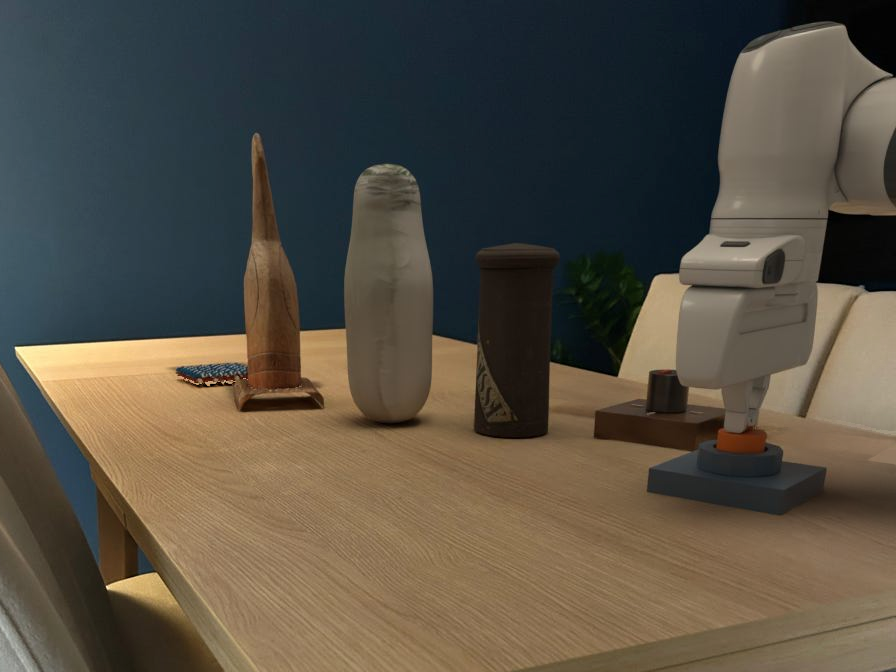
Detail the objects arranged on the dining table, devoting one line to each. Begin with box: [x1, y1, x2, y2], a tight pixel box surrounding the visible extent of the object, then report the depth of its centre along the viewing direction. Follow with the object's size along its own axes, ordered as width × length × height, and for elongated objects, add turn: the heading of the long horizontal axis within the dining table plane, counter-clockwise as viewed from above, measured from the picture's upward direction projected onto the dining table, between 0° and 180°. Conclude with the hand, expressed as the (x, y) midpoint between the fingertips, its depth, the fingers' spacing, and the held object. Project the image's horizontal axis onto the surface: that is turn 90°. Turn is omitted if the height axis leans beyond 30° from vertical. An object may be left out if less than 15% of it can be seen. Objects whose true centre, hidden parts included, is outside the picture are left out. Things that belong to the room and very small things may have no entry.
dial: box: [646, 368, 690, 413], centre depth 106 cm, size 4×4×4 cm
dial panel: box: [593, 398, 726, 452], centre depth 107 cm, size 12×10×3 cm
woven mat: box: [175, 361, 248, 384], centre depth 147 cm, size 10×11×2 cm
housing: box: [646, 440, 828, 516], centre depth 85 cm, size 12×10×4 cm
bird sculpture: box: [232, 132, 325, 411], centre depth 123 cm, size 11×12×32 cm
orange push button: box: [716, 428, 768, 453], centre depth 84 cm, size 4×4×2 cm
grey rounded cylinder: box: [343, 163, 434, 424], centre depth 112 cm, size 10×10×28 cm
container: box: [473, 242, 561, 438], centre depth 107 cm, size 9×9×20 cm
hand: (739, 430), depth 84 cm, fingers closed
